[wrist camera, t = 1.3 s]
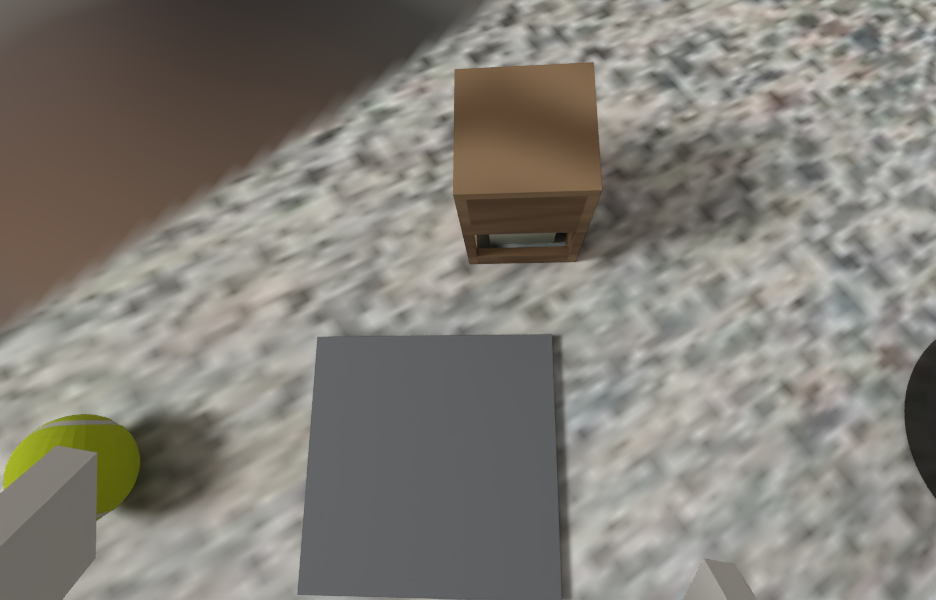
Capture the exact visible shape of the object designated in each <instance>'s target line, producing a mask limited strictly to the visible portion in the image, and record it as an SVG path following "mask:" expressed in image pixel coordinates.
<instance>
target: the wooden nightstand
mask: <svg viewBox="0 0 936 600" xmlns="http://www.w3.org/2000/svg"><path fill="white" fill-rule="evenodd" d="M601 192H602V180H601V165H600V150H599V135H598V120H597V105H596V90H595V75H594V62H591V63H571V64H551V65H531V66H511V67H491V68H471V69H455V89H454V173H453V196H454V200H455V204H456V209H457V213H458V217H459V221H460V225H461V230H462V234H463V238H464V242H465V247H466V251H467V255H468V259H469V263H470V264H497V263H544V262H576V259H577V256H578V254H579V251H580V248H581V246H582V243H583V240H584V238H585V235H586V232H587V230H588V227H589V224H590V221H591V219H592V216H593V213H594V211H595V208H596V205H597V203H598V200H599V197H600V195H601ZM530 233H565V234H566V246H563V247H521V248H479V249H478V235H491V234H530Z"/></svg>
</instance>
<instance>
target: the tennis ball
mask: <svg viewBox="0 0 936 600" xmlns="http://www.w3.org/2000/svg"><path fill="white" fill-rule="evenodd" d="M55 446H62V447H68V448H74V449H80V450H85V451H91V452H97V503H96V521H97V520H98V519H100V518H102V517H103V516H104V515H106V514H107V513H109V512H110V511H112V510H114V509H115V508H117V507H118V506H119V505H120V504H121V503H122V502H123V501H124V499H125V498H126V497H127V496H128V494H129V493H130V491H131V490H132V488H133V487H134V484H135V482H136V480H137V477H138V474H139V469H140V453H139V449H138V445H137V443H136V441H135V440H134V438H133V436H132V435H131V434H130V433H129V431H128V430H127V429H126V428H124V427H123V426H122V425H119V424H117V423H116V422H114V421H112V420H111V419H109V418H106V417H102V416H98V415H87V414H81V415H72V416H66V417H62V418H59V419H56V420H54V421H51V422H48V423H46V424H44V425H43V426H41V427H39V428H38V429H36V430H35V431H33V432H32V433H31V434H30V435H29V436H28V437H26V438H25V439H24V440H23V441H22V442H21V443H20V444H19V445H18V447H17V448H16V449H15V450H14V452H13V453H12V455H11V457H10V458H9V461H8V463H7V465H6V468H5V473H4V481H3V485H4V490H5V489H6V488H7V487H8V486H9V485H11V484H12V483H13V482H14V481H15V480H16V479H18V478H19V477H20V476H21V475H22V474H24V473H25V472H26V471H27V470H28V469H29V468H31V467H32V466H33V465H34V464H35V463H37V462H38V461H39V460H40V459H41V458H42V457H44V456H45V455H46V454H47V453H48V452H49V451H51V450H52V449H53V448H54V447H55Z"/></svg>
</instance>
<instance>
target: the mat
mask: <svg viewBox="0 0 936 600" xmlns="http://www.w3.org/2000/svg"><path fill="white" fill-rule="evenodd" d="M298 595H323V596H359V597H395V598H431V599H466V600H562V590H561V563H560V537H559V510H558V483H557V456H556V429H555V403H554V376H553V349H552V334H541V335H450V336H359V337H317V350H316V363H315V376H314V389H313V401H312V414H311V427H310V440H309V453H308V466H307V479H306V492H305V505H304V518H303V530H302V543H301V556H300V569H299V582H298Z"/></svg>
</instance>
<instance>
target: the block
mask: <svg viewBox="0 0 936 600" xmlns="http://www.w3.org/2000/svg"><path fill="white" fill-rule="evenodd" d="M555 235H556V233H530V234H491V235H489V239H490V245H494V244H533V243H554V239H555Z"/></svg>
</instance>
